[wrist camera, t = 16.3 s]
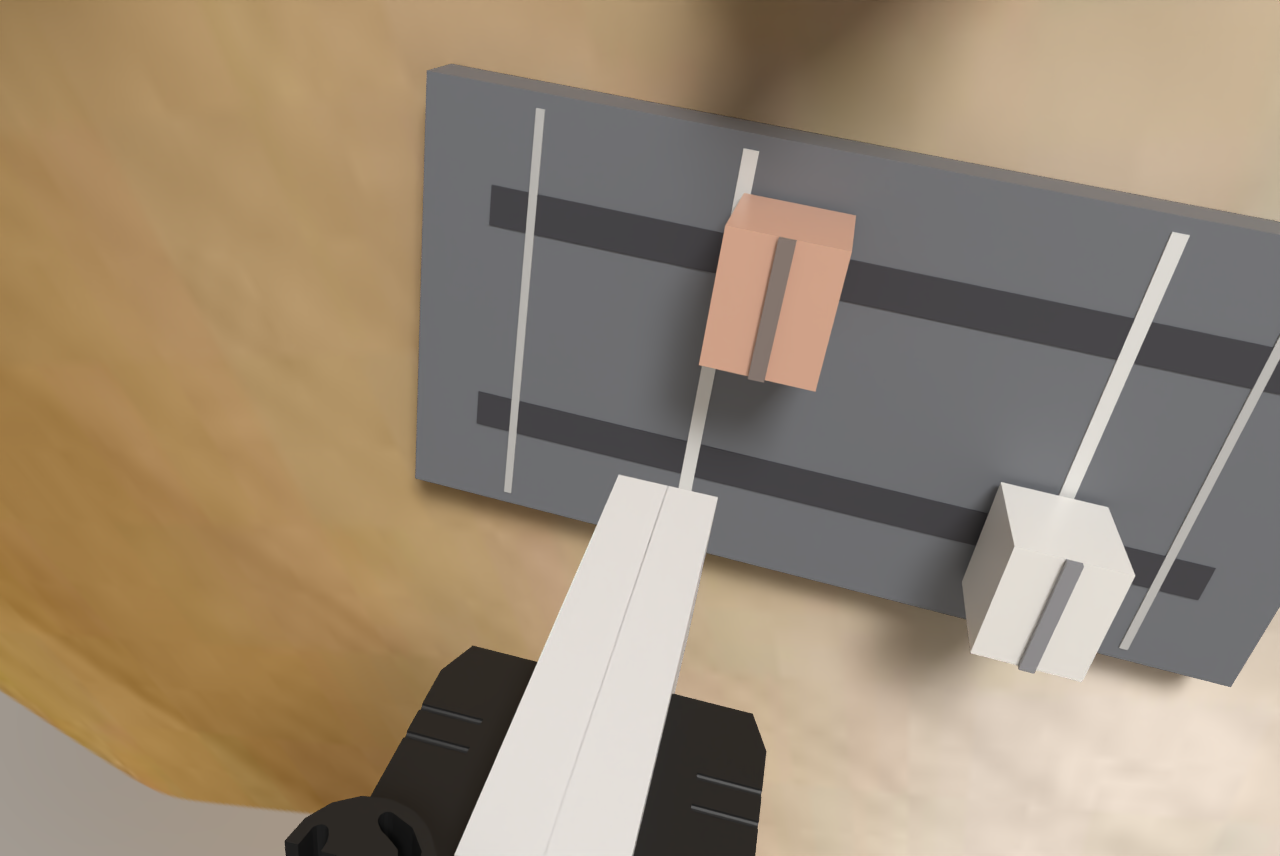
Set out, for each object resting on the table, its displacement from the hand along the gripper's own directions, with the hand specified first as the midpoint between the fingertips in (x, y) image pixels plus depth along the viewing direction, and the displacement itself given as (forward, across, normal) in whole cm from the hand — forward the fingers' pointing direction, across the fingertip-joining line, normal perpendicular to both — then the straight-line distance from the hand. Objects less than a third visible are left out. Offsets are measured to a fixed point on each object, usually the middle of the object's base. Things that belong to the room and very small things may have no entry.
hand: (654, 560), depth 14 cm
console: (+21, +4, -5) cm, 22 cm away
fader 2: (+18, +12, -9) cm, 23 cm away
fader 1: (+18, +1, -1) cm, 18 cm away
